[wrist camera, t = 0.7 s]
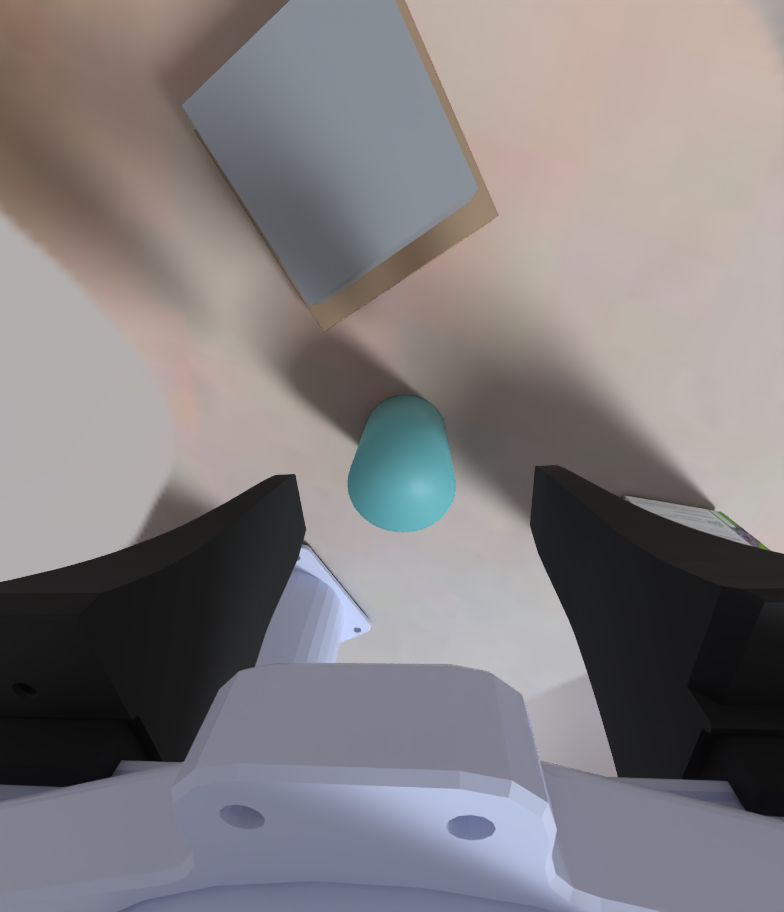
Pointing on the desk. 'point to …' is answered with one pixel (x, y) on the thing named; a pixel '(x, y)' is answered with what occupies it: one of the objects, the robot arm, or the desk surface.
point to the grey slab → (333, 139)
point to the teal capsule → (403, 466)
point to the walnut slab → (425, 245)
